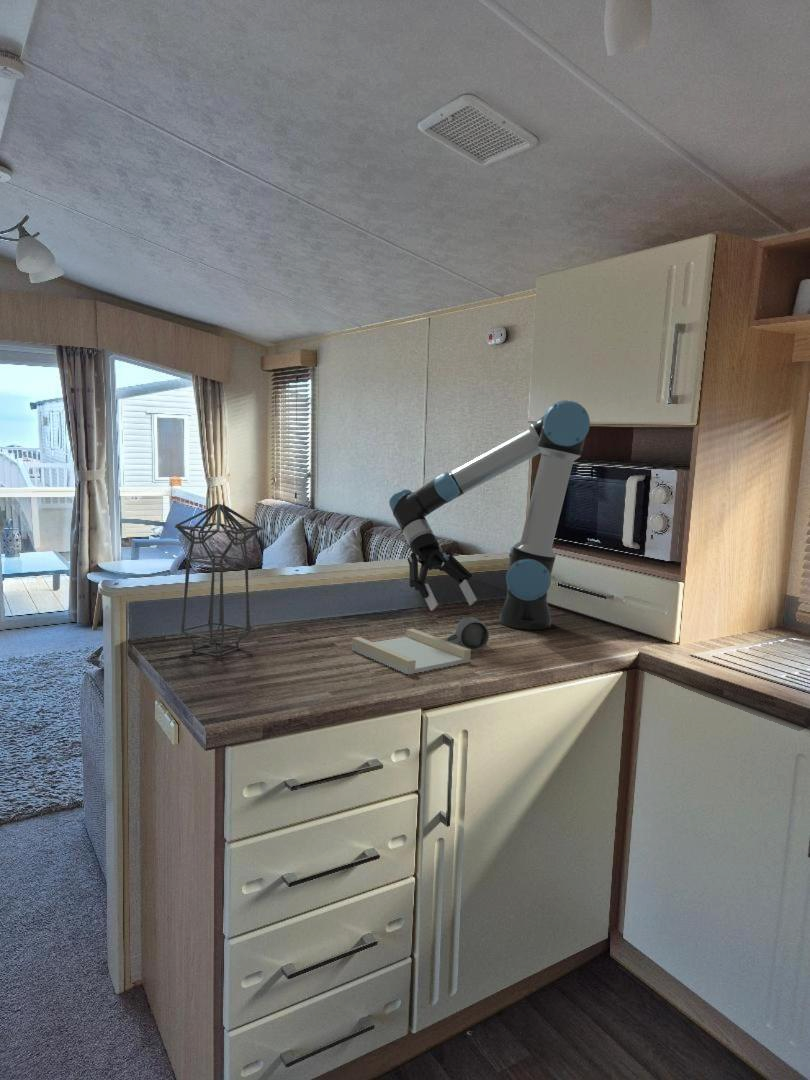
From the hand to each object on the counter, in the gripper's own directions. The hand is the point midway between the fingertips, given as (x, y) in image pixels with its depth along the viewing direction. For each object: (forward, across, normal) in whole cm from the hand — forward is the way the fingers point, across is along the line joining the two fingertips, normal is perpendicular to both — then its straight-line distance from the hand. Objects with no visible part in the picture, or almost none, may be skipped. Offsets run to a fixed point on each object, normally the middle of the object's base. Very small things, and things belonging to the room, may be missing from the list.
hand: (454, 605), depth 188 cm
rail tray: (+10, +18, -4) cm, 21 cm away
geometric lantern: (-9, +55, -23) cm, 61 cm away
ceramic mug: (+11, 0, -4) cm, 11 cm away
